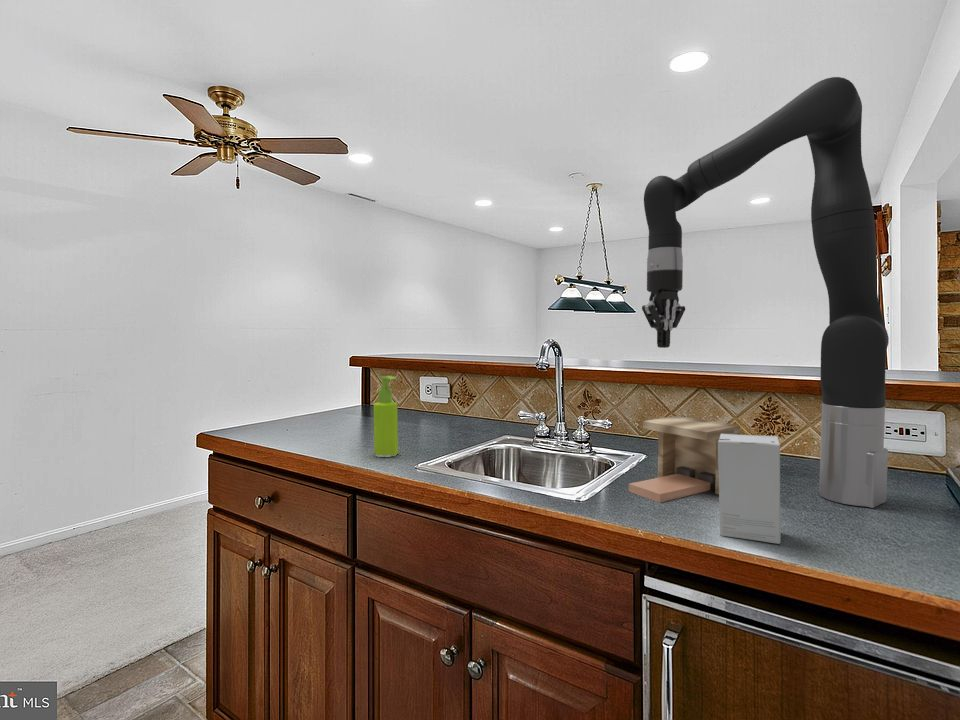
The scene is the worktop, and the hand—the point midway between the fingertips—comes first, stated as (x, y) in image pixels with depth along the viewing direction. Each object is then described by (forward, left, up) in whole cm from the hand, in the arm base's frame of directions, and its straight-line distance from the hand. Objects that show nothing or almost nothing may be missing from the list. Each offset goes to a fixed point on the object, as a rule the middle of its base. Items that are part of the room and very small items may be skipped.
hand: (663, 347), depth 115 cm
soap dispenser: (+46, +47, -27) cm, 71 cm away
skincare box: (-32, +23, -27) cm, 48 cm away
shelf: (-13, +9, -27) cm, 31 cm away
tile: (-12, +14, -28) cm, 33 cm away
